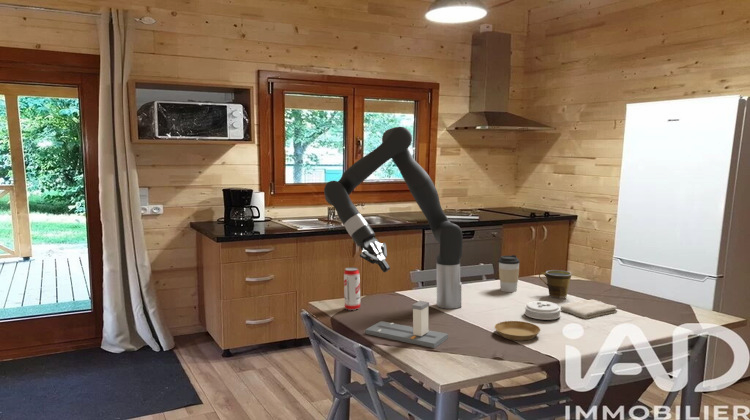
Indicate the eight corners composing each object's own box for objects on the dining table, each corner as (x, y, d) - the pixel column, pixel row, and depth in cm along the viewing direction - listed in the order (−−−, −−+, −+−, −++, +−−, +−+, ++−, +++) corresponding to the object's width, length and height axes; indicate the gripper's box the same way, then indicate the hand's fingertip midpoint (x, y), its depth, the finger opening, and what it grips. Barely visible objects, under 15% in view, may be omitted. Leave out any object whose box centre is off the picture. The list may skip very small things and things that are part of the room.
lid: (526, 321, 189) (526, 308, 188) (523, 310, 201) (523, 298, 201) (563, 322, 187) (563, 309, 186) (557, 311, 199) (557, 299, 198)
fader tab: (412, 334, 171) (412, 304, 170) (420, 329, 176) (419, 300, 175) (421, 336, 170) (421, 306, 168) (429, 331, 174) (429, 302, 173)
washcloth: (618, 312, 197) (619, 304, 197) (585, 320, 189) (585, 312, 189) (592, 304, 208) (592, 297, 207) (559, 312, 200) (559, 304, 199)
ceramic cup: (573, 295, 220) (573, 271, 219) (567, 301, 212) (568, 276, 210) (541, 291, 227) (542, 268, 226) (535, 296, 218) (535, 273, 217)
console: (365, 333, 179) (365, 328, 179) (381, 325, 187) (381, 319, 187) (434, 348, 165) (434, 342, 165) (448, 338, 173) (447, 332, 173)
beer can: (361, 306, 210) (360, 267, 208) (359, 311, 204) (358, 270, 202) (345, 306, 211) (344, 266, 209) (343, 310, 204) (342, 270, 203)
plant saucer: (490, 327, 183) (490, 320, 183) (533, 327, 183) (533, 320, 182) (499, 343, 168) (499, 335, 168) (545, 343, 168) (546, 335, 168)
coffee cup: (507, 293, 223) (508, 259, 222) (493, 289, 231) (493, 255, 230) (523, 290, 228) (524, 256, 226) (509, 286, 236) (509, 253, 234)
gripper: (353, 228, 177) (382, 270, 173) (377, 220, 187) (404, 259, 183) (341, 240, 181) (369, 281, 177) (365, 231, 191) (392, 270, 187)
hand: (387, 270), depth 180 cm, fingers closed
